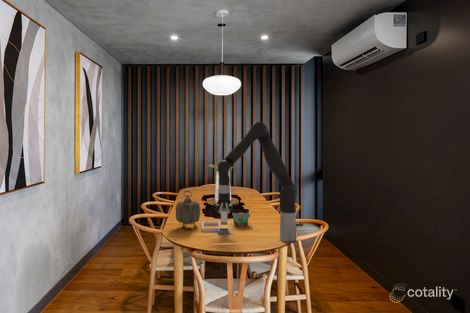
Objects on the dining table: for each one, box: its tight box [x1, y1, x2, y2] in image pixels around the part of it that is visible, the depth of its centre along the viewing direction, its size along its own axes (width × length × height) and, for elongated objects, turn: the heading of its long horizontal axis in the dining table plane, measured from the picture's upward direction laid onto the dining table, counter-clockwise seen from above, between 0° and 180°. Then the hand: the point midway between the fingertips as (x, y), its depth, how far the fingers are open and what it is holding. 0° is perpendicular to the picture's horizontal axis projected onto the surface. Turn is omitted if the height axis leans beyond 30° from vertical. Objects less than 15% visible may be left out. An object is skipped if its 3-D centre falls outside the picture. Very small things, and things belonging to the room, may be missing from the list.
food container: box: [231, 211, 250, 227], centre depth 231 cm, size 12×6×10 cm, turn 101°
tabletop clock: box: [175, 190, 201, 229], centre depth 227 cm, size 14×9×25 cm, turn 59°
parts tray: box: [201, 220, 221, 233], centre depth 225 cm, size 12×18×3 cm, turn 4°
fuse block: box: [213, 227, 234, 236], centre depth 213 cm, size 12×8×3 cm, turn 94°
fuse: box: [220, 208, 229, 226], centre depth 213 cm, size 4×4×10 cm
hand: (224, 218), depth 213 cm, fingers closed on fuse, 4 cm apart
